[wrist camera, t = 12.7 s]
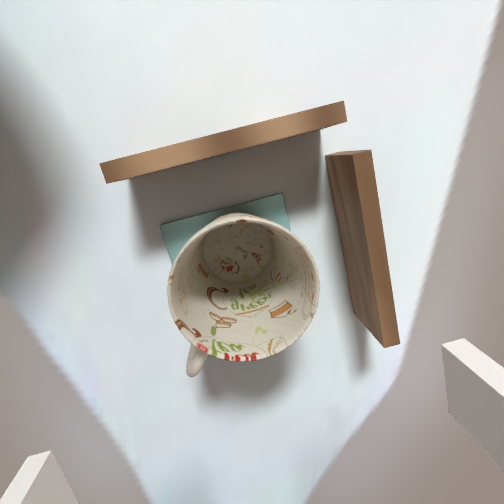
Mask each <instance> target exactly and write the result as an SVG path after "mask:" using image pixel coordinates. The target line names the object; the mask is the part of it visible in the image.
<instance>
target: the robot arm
mask: <svg viewBox="0 0 504 504" xmlns="http://www.w3.org/2000/svg"><path fill="white" fill-rule="evenodd" d="M442 354H443V363H444V372H445V381H446V390H447V399H448V408H449V413H450V414H451V415H452V416H453V417H454V418H455V420H456V421H457V422H458V423H459V424H460V425H461V426H462V427H463V428H464V430H466V432H467V433H468V434H469V435H470V436H471V437H472V439H473V440H474V441H475V442H476V443H477V444H478V445H479V446H480V447H481V448H482V450H483V451H484V452H485V453H486V454H487V455H488V456H489V457H490V459H491V460H492V461H493V462H494V463H495V464H496V465H497V466H498V467H499V469H500V470H501V471H502V472H503V473H504V368H503V367H502V366H500V365H499V364H497V363H496V362H495V361H493V360H492V359H491V358H489V357H488V356H487V355H485V354H484V353H483V352H481V351H480V350H479V349H477V348H476V347H474V346H473V345H472V344H471V343H469V342H468V341H466V340H465V339H460V340H456V341H452V342H449V343H445V344H442ZM0 504H78V502H77V500H76V498H75V496H74V494H73V492H72V490H71V488H70V486H69V484H68V482H67V480H66V478H65V476H64V475H63V473H62V471H61V469H60V467H59V465H58V463H57V461H56V459H55V457H54V455H53V453H52V451H47V452H44V453H40V454H36V455H32V456H29V457H27V459H26V461H25V462H24V464H23V466H22V467H21V469H20V470H19V471H18V473H17V475H16V476H15V478H14V479H13V481H12V482H11V484H10V485H9V487H8V489H7V490H6V492H5V493H4V495H3V496H2V498H1V499H0Z"/></svg>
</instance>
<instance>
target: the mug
mask: <svg viewBox="0 0 504 504" xmlns="http://www.w3.org/2000/svg"><path fill="white" fill-rule="evenodd" d="M167 291H168V303H169V308H170V311H171V314H172V317H173V319H174V321H175V323H176V325H177V327H178V328H179V330H180V331H181V333H182V334H183V335H184V336H185V338H186V339H187V340H188V341H189V342H190V343H192V344H191V347H190V351H189V355H188V359H187V365H186V372H187V375H188V376H189V377H194V376H196V375H197V374H198V373H199V372H200V370H201V369H202V367H203V366H204V363H205V361H206V359H207V357H208V355H211V356H214V357H217V358H220V359H224V360H229V361H240V362H243V361H254V360H259V359H264V358H267V357H270V356H272V355H275V354H277V353H279V352H281V351H282V350H284V349H286V348H287V347H289V346H290V345H291V344H292V343H294V342H295V341H296V340H297V339H298V338H299V337H300V336H301V335H302V334H303V332H304V331H305V330H306V329H307V327H308V326H309V324H310V322H311V320H312V318H313V316H314V314H315V311H316V309H317V305H318V300H319V291H320V286H319V276H318V271H317V268H316V265H315V262H314V260H313V258H312V256H311V254H310V252H309V251H308V249H307V248H306V246H305V245H304V244H303V243H302V242H301V241H300V239H299V238H298V237H297V236H295V235H294V234H293V233H292V232H290V231H289V230H288V229H286V228H284V227H283V226H281V225H279V224H277V223H275V222H273V221H270V220H267V219H264V218H260V217H257V216H253V215H250V214H246V213H229V214H226V215H223V216H220V217H219V218H217V219H215V220H214V221H212V222H211V223H210V224H208V225H207V226H205V227H204V228H202V229H201V230H200V231H198V232H197V233H196V234H195V235H193V236H192V237H191V238H190V239H189V240H188V241H187V243H186V244H185V245H184V246H183V247H182V249H181V250H180V252H179V253H178V255H177V257H176V259H175V261H174V263H173V265H172V268H171V271H170V274H169V279H168V288H167Z"/></svg>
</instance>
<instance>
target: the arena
mask: <svg viewBox="0 0 504 504" xmlns="http://www.w3.org/2000/svg"><path fill="white" fill-rule="evenodd" d="M344 122H347V117H346V111H345V105H344V101H341V102H337V103H333V104H329V105H325V106H321V107H317V108H313V109H310V110H306V111H302V112H298V113H294V114H290V115H286V116H282V117H278V118H275V119H271V120H267V121H263V122H259V123H255V124H251V125H247V126H243V127H240V128H236V129H232V130H228V131H224V132H220V133H216V134H212V135H209V136H205V137H201V138H197V139H193V140H189V141H185V142H181V143H177V144H174V145H170V146H166V147H162V148H158V149H154V150H150V151H146V152H142V153H139V154H135V155H131V156H127V157H123V158H119V159H115V160H111V161H108V162H104V163H100V167H101V170H102V172H103V175H104V178H105V181H106V184H107V183H112V182H116V181H121V180H126V179H131V178H135V177H138V176H142V175H146V174H150V173H154V172H158V171H162V170H166V169H169V168H173V167H177V166H181V165H185V164H189V163H193V162H197V161H200V160H204V159H208V158H212V157H216V156H220V155H224V154H227V153H231V152H235V151H239V150H243V149H247V148H251V147H255V146H258V145H262V144H266V143H270V142H274V141H278V140H282V139H285V138H289V137H293V136H297V135H301V134H305V133H309V132H313V131H316V130H320V129H324V128H327V127H330V126H334V125H337V124H340V123H344ZM325 157H326V162H327V168H328V173H329V179H330V184H331V189H332V195H333V200H334V206H335V211H336V217H337V222H338V227H339V233H340V238H341V244H342V249H343V255H344V260H345V265H346V271H347V276H348V282H349V287H350V292H351V298H352V303H353V309H354V313H355V315H356V316H357V317H358V318H359V319H360V320H361V322H362V323H363V324H364V325H365V326H366V327H367V329H368V330H369V331H370V332H371V333H372V334H373V336H374V337H375V338H376V339H377V340H378V341H379V343H380V344H381V345H382V346H383V347H384V348H387V347H390V346H394V345H398V344H400V340H399V333H398V327H397V320H396V313H395V306H394V300H393V293H392V286H391V280H390V273H389V266H388V259H387V253H386V246H385V239H384V233H383V226H382V219H381V213H380V206H379V199H378V192H377V186H376V179H375V172H374V166H373V159H372V152H371V150H360V151H344V152H337V153H333V154H329V155H325ZM229 213H246V214H250V215H253V216H257V217H260V218H264V219H267V220H270V221H273V222H275V223H277V224H279V225H281V226H283V227H284V228H286V229H288V230H289V231H290V232H291V230H290V226H289V221H288V217H287V212H286V208H285V203H284V199H283V194H282V193H281V194H277V195H273V196H269V197H265V198H262V199H258V200H254V201H250V202H246V203H242V204H239V205H235V206H231V207H227V208H223V209H219V210H216V211H212V212H208V213H204V214H200V215H196V216H193V217H189V218H185V219H181V220H177V221H173V222H170V223H166V224H162V225H160V228H161V231H162V234H163V237H164V240H165V243H166V246H167V250H168V253H169V256H170V259H171V262H172V265H173V263H174V261H175V259H176V257H177V255H178V253H179V252H180V250H181V249H182V247H183V246H184V245H185V244H186V243H187V241H188V240H189V239H190V238H191V237H192V236H193V235H195V234H196V233H197V232H198V231H200V230H201V229H202V228H204V227H205V226H207V225H208V224H210V223H211V222H212V221H214V220H215V219H217V218H219V217H220V216H223V215H226V214H229Z"/></svg>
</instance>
